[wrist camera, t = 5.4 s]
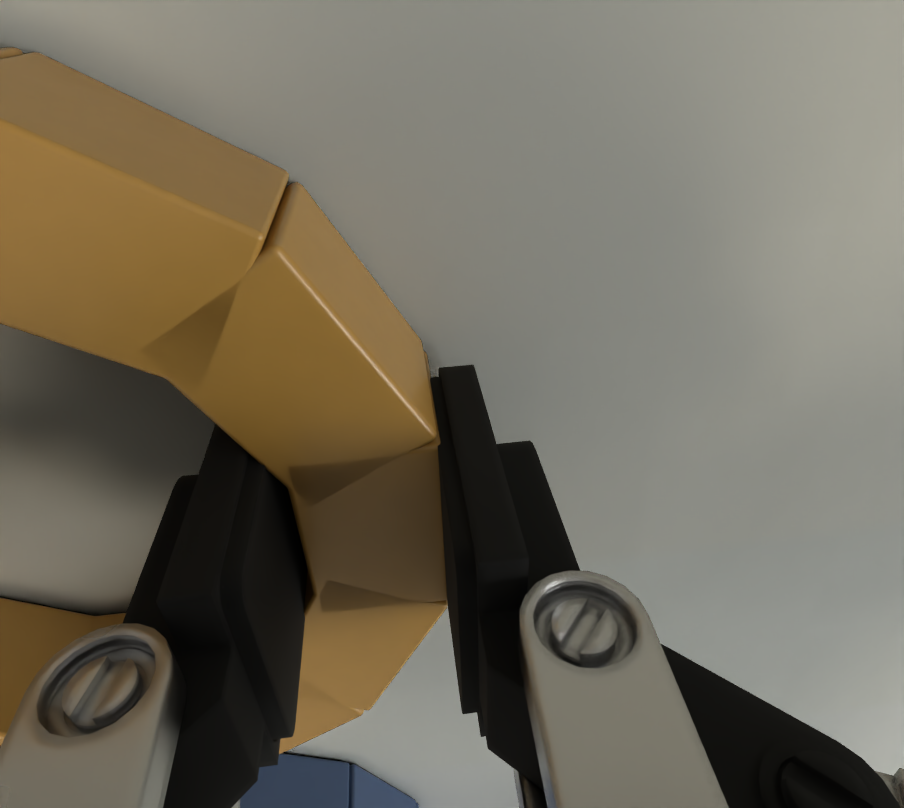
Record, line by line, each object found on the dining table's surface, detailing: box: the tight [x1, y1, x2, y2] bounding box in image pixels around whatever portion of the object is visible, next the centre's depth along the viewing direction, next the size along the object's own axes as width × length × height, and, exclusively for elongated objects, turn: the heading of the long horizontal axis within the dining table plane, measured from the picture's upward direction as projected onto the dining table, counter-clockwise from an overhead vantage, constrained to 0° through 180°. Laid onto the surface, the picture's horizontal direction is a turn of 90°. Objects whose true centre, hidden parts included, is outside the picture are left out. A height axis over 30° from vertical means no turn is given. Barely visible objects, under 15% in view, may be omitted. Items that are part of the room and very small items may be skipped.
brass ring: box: [0, 47, 448, 754], centre depth 9 cm, size 12×12×2 cm
